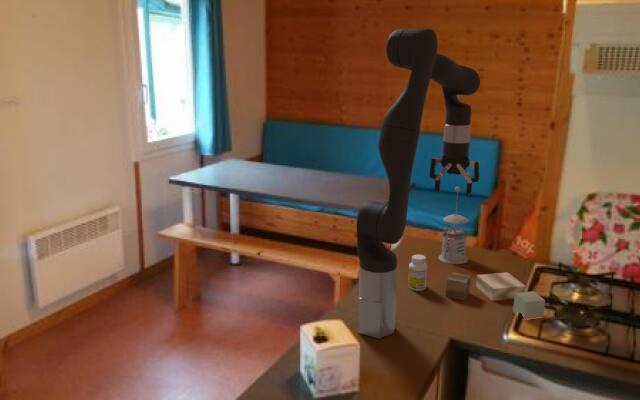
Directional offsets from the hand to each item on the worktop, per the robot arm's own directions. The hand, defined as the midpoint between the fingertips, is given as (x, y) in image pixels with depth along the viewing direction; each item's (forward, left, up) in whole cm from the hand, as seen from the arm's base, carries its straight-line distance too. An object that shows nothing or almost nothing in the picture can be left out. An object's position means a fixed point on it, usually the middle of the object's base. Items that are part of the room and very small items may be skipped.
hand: (452, 193), depth 170 cm
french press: (+15, +3, -27) cm, 31 cm away
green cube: (-14, -27, -27) cm, 40 cm away
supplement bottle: (-12, +5, -27) cm, 30 cm away
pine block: (-3, -17, -27) cm, 32 cm away
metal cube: (-11, -7, -27) cm, 30 cm away
